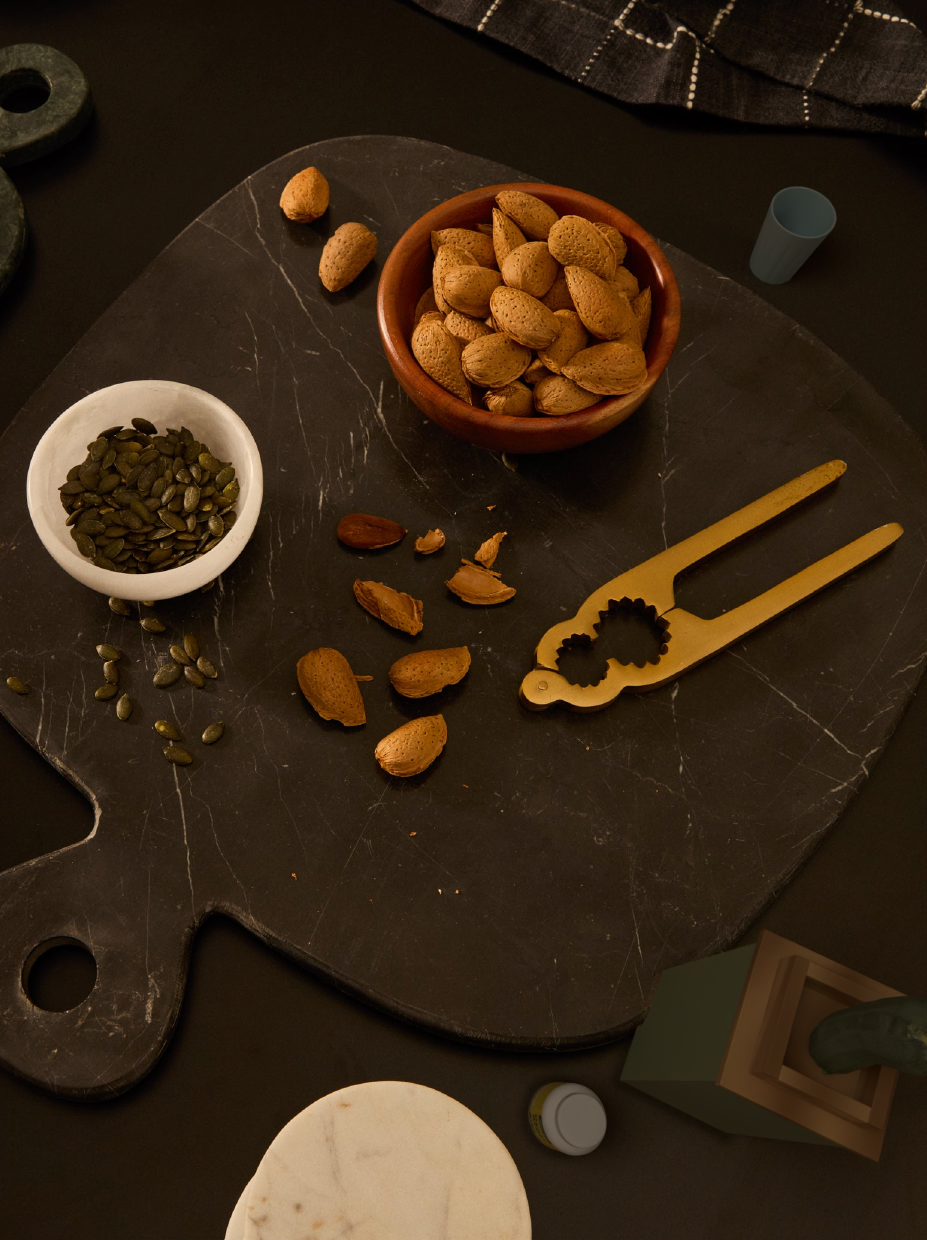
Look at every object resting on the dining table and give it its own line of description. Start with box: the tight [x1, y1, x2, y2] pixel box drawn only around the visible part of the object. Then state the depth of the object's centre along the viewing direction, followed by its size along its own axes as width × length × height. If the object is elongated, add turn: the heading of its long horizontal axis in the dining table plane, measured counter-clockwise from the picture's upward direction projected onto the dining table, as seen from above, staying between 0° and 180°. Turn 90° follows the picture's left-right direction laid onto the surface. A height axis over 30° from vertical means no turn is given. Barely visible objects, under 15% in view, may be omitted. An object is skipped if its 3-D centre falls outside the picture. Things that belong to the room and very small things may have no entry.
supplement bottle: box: [527, 1081, 608, 1157], centre depth 98 cm, size 5×5×10 cm
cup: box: [749, 186, 837, 285], centre depth 139 cm, size 8×8×10 cm
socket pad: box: [715, 928, 908, 1163], centre depth 78 cm, size 11×11×4 cm
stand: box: [619, 942, 841, 1148], centre depth 92 cm, size 10×10×28 cm
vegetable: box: [809, 995, 927, 1077], centre depth 70 cm, size 4×4×20 cm
